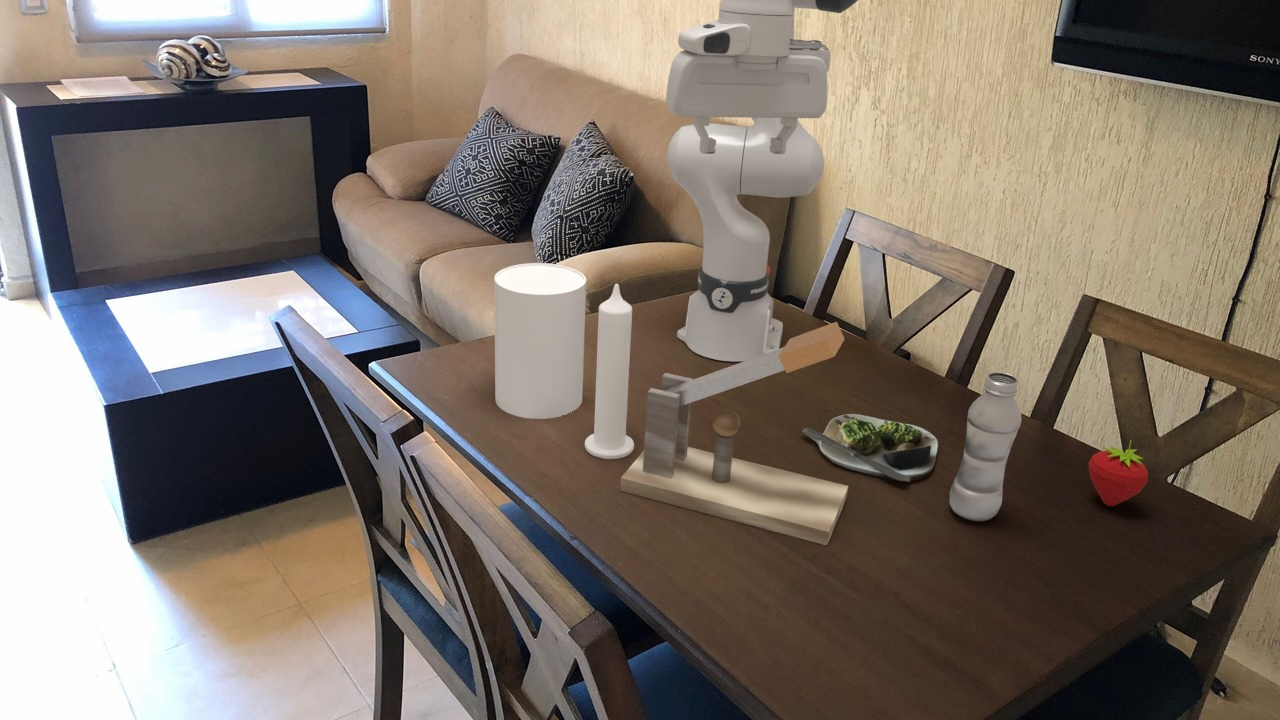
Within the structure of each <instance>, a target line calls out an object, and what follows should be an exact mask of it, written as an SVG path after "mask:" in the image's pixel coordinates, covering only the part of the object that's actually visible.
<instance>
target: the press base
mask: <svg viewBox="0 0 1280 720" xmlns="http://www.w3.org/2000/svg"><path fill="white" fill-rule="evenodd" d="M691 380H694V378H691V377H685V376H682V375H676V374H672V373H667V372H665V373H664V374H663V375H662V376H661V387H660V388H661V389H657V388H653V387H651V388H650V389H649V390H648V391H647V398H646V414H645V416H646V417H645V429H644V443H643V451H642V452H641V453H640V455H638V457H637V458H636V459H635V461H633V463H632V464H631V465H630V466H629V467H628V468H627V470H626V471H625V472H624V473H623V475H622V476H621V477H620V484H619V485H620V487H619V489H620V491H621V492H624V493H628V494H631V495H634V496H639V497H642V498H643V497H644V498H646V499H650V500H655V501H657V502H662V503H665V504H669V505H672V506H673V505H674V506H677V507H680V508H685V509H688V510H692V511H696V512H698V513H703V514H706V515H710V516H714V517H717V518H721V519H726V520H729V521H733V522H736V523H740V524H744V525H749V526H751V527H752V526H753V527H756V528H759V529H763V530H766V531H769V532H770V531H771V532H775V533H779V534H782V535H787V536H789V537H793V538H796V539H801V540H804V541H808V542H812V543H816V544H820V545H822V546H823V545H824V546H828V545H829V541H830V539H831V537H832V535H833V532H834V530H835V527H836V524H837V522H838V520H839V518H840V515H841V513H842V510H843V508H844V505H845V503H846V500H847V497H848V492H849V485H845V484H842V483H837V482H834V481H830V480H825V479H821V478H817V477H813V476H809V475H804V474H801V473H797V472H792V471H788V470H785V469H780V468H776V467H774V466H773V467H772V466H768V465H764V464H760V463H756V462H751V461H747V460H744V459H739V458H735V457H733V452H734V442H735V434H737V433H738V431H739V430H740V427H741V418H740V416H739V415H738V413H737V412H735V411H734V410H733V409H730V408H729V409H728V408H725V409H721V410H718V412H716V413H715V414H714V416H713V419H712V427H713V430H714V431H715V432H716V433H715V441H714V442H715V444H714V451H713V452H712V451H711V452H710V451H706V450H703V449H699V448H695V447H690V446H689V445H688V444H689V436H690V435H689V433H690V422H691V413H692V412H691V411H692V402H691V403H688V404H685V405H682V406H680V407H679V400H680V394H675V393H671V392H666V391H663V390H666V389H669V388H671V387H674V386H677V385H680V384H683V383H685V382H688V381H691Z"/></svg>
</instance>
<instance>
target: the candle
mask: <svg viewBox="0 0 1280 720" xmlns="http://www.w3.org/2000/svg"><path fill="white" fill-rule="evenodd" d="M632 319H633V307H632V305H631V304H630V303H628V302H627V301H626V300H625V299H623V297H622V295H621V290H620V286H619V284H618V283H615V284H614V286H613V289H612V293H611V296H610V297H609V298H608V299H607V300H605V301H603V302H601V303H600V304H599V306H598V324H597V325H598V326H597V346H596V347H597V349H596V350H597V351H596V353H597V354H596V374H595V379H596V380H595V401H594V431H593V432H594V433H591V434H590V435H588V437H586V438H585V441H584V448H585V451H586V452H587V453H588V454H590V455H591V456H593V457H595V458H600V459H604V460H618V459H622V458H625V457H629V455H631V453H632V452H633V451H634V449H635V443H634V440H633V439H632V438H631V437H630V436H629V435H627V434H626V433H627V419H628V418H627V414H628V400H629V399H628V397H629V378H630V376H629V375H630V359H631V358H630V356H631V343H632V342H631V339H632V325H633V323H632V322H633V321H632Z"/></svg>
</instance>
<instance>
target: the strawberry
mask: <svg viewBox="0 0 1280 720" xmlns="http://www.w3.org/2000/svg"><path fill="white" fill-rule="evenodd" d="M1131 445H1132V439H1130V440H1129V445H1128V449H1126V450H1125V451H1124V450H1121V449H1119V448H1117V447H1114V446H1112V445H1110V446H1109V447H1110V448H1107V447H1102V450H1101V451H1098V452H1097V453H1094V454H1093V455H1092V457H1091V458H1090V460H1089V462H1088V473H1089V478H1090V480H1091V481H1092V484H1093V486H1094V489H1095V490H1096V492H1097V494H1098V495H1099V497H1100V499H1101V501H1102V503H1103V504H1104V505H1105V504H1106V505H1105V506H1107V505H1108V506H1107V507H1110V506H1112V507H1115V506H1116V505H1118V504H1121V503H1122V502H1126V501H1128V500H1129V499H1131V498H1132V497H1134V496H1136V495H1137V494H1139V493H1141V491H1142V489H1144V487H1145V486H1146V485H1147V483H1148V481H1149V479H1148V478H1149V471H1148V470H1147V468H1146V466H1145V465H1144V464H1143V462H1142V461H1140V460H1144V457H1141V456H1139V455H1137V454H1135V452H1136V451H1137V449H1131Z"/></svg>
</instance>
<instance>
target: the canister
mask: <svg viewBox="0 0 1280 720" xmlns="http://www.w3.org/2000/svg"><path fill="white" fill-rule="evenodd" d="M493 281H494V282H493V283H494V284H493V285H494V287H493V288H494V377H495V378H494V380H495V381H494V383H495V385H494V389H495V390H494V391H495V393H494V394H495V395H494V399H495V400H494V401H495V403H496V405H497V407H498V408H499V409H500V410H502V411H504V412H505V413H507V414H510V415H511V416H512V415H513V416H516V417H519V418H523V419H530V420H531V419H532V420H544V419H545V420H546V419H547V420H548V418H549V419H555V417H556V418H559V417H563V416H562V415H564V416H566V414H567V415H569V414H571V413H573V412H575V411H576V410H577V409H579V407H580V406H581V405H582V403H583V390H584V388H583V387H584V385H583V384H584V357H585V355H584V354H585V353H584V352H585V327H586V326H585V323H586V294H587V293H586V292H587V277H586V276H585V274H583V273H582V272H581V271H579V270H577V269H575V268H573V267H569V266H565V265H562V264H557V263H556V264H555V263H546V262H529V263H528V262H527V263H520V264H515V265H511V266H508V267H507V266H506V267H505V268H502V269H501V270H498V271H497V272H496V273H495V275H494V279H493ZM574 410H575V411H574ZM572 411H573V412H572ZM570 412H571V413H570ZM568 413H569V414H568Z"/></svg>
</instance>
